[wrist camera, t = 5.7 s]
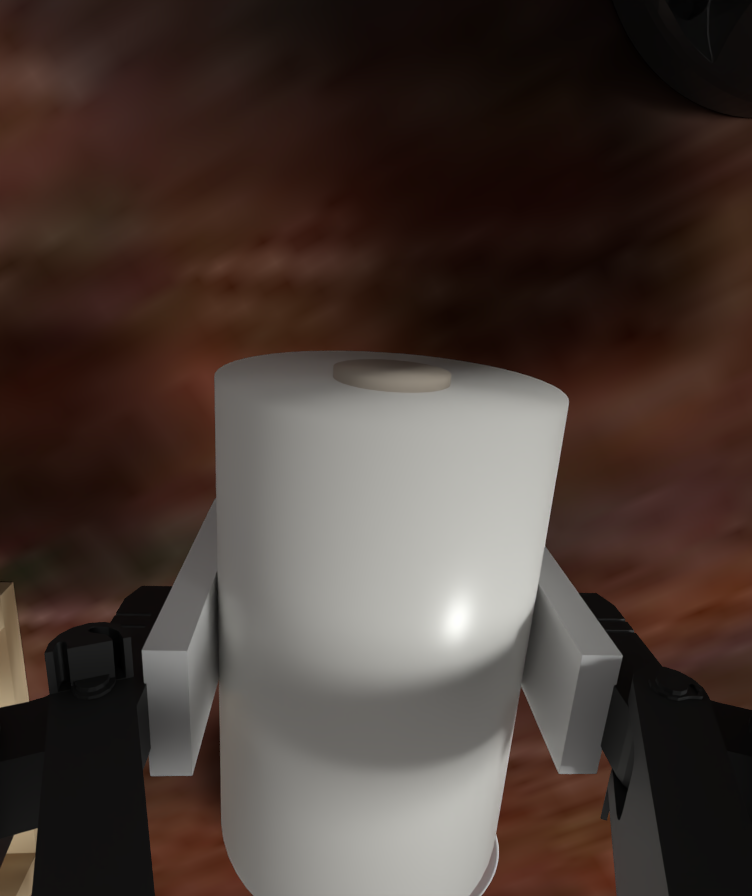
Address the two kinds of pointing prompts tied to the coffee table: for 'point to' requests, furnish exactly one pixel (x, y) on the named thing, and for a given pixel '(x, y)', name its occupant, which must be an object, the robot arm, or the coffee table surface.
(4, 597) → the oak roll cradle
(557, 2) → the coffee table surface
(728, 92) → the robot arm
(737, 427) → the coffee table surface
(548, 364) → the coffee table surface
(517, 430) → the paper roll
